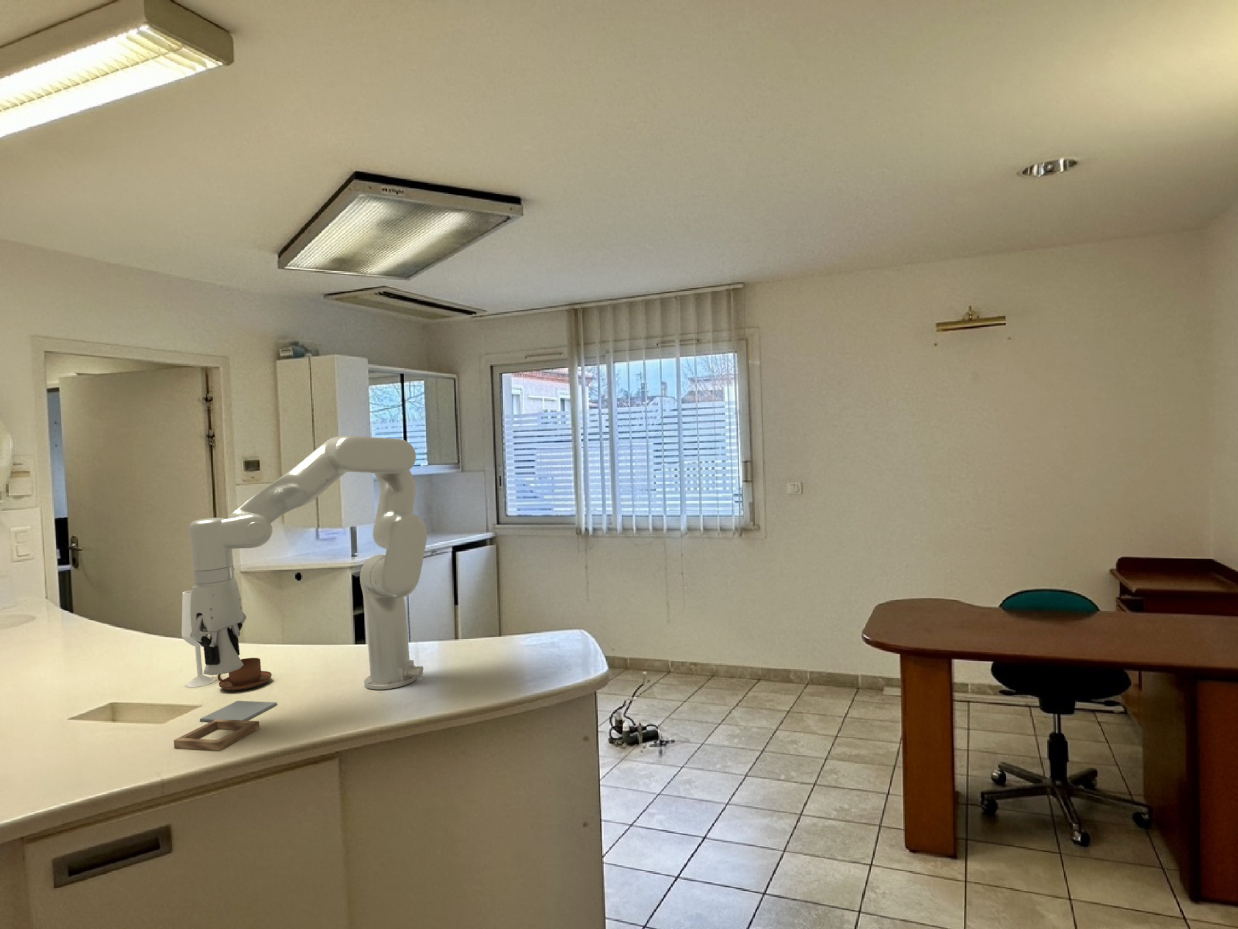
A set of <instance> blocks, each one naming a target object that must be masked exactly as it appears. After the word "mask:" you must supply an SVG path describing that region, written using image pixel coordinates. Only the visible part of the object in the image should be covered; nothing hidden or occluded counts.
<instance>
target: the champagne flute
mask: <svg viewBox="0 0 1238 929" xmlns="http://www.w3.org/2000/svg"><path fill="white" fill-rule="evenodd" d="M191 591H192V589H191V590H186V591H183V592H182V596H181V597H182V601H181V603H182V604H181V606H182V607H181V638H182V639H183V641H185V642H186V643H188V644H189V645H191V646H192V647H195V648H194V650H195V662H196V672H197V673H196V674H197V676H195V677H194V678H192V680H191V681H189V682H187V683H186V685H185V687H188V688H197V687H198V688H199V687H203V686H207V685H209V684H213V683H214V682H215V681H216V679H215V678H213V677H210V676H207V675H205V674H203V673H204V672H203V664H202V651H201V650H202V649H201V645H200V644H199V643H198V642H197V641H196V640H194V639H192V638H191V637H190V634H191V632H192V628H191V615H190V602H191ZM201 634H202V632H201ZM208 638H210V634H208Z"/></svg>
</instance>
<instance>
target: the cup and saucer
mask: <svg viewBox="0 0 1238 929" xmlns="http://www.w3.org/2000/svg"><path fill="white" fill-rule="evenodd" d="M240 659H241V658H240ZM241 661H242V663H243V666H242V667H241V668H240V669H238V670H235V671H232V672H229V673H228V677H225V678H224V679H223V678H221V675H222V674H218V675H217V680H218V681H219V682H218V686H219V687H220V688H221V689H223V690H227V691H242V690H249V689H252V688H256V687H258V686H261V685H263V684H265V683H267V682H268V681H269V680H270V679H271V678H272V676H273V674H272V672H271V671H267V670H262V665H261V658H259V657H247V658H242V659H241Z"/></svg>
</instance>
